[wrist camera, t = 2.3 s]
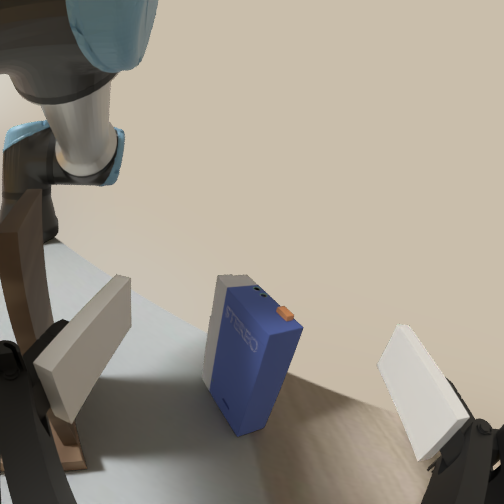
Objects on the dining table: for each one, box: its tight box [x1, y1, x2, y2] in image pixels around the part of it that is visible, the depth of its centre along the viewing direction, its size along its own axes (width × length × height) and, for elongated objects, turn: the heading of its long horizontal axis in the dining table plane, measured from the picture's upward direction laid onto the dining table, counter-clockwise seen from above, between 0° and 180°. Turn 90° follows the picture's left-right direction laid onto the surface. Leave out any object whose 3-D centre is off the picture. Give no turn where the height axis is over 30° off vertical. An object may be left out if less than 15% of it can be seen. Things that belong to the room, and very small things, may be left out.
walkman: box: [202, 275, 303, 437], centre depth 22 cm, size 8×3×12 cm, turn 30°
